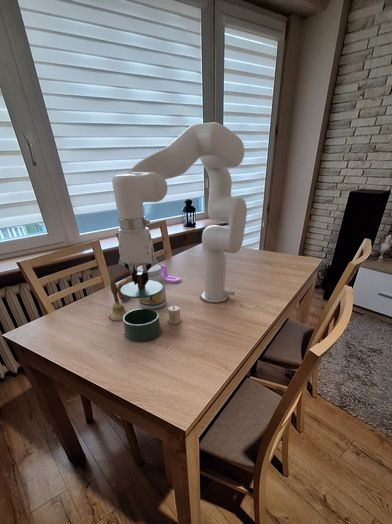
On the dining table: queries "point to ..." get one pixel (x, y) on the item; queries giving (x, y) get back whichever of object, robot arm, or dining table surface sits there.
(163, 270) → the bracket
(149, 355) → the dining table surface
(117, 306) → the hand bell
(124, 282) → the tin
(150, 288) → the tin lid
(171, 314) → the candle
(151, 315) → the candle tin
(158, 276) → the supplement tub
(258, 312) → the dining table surface
